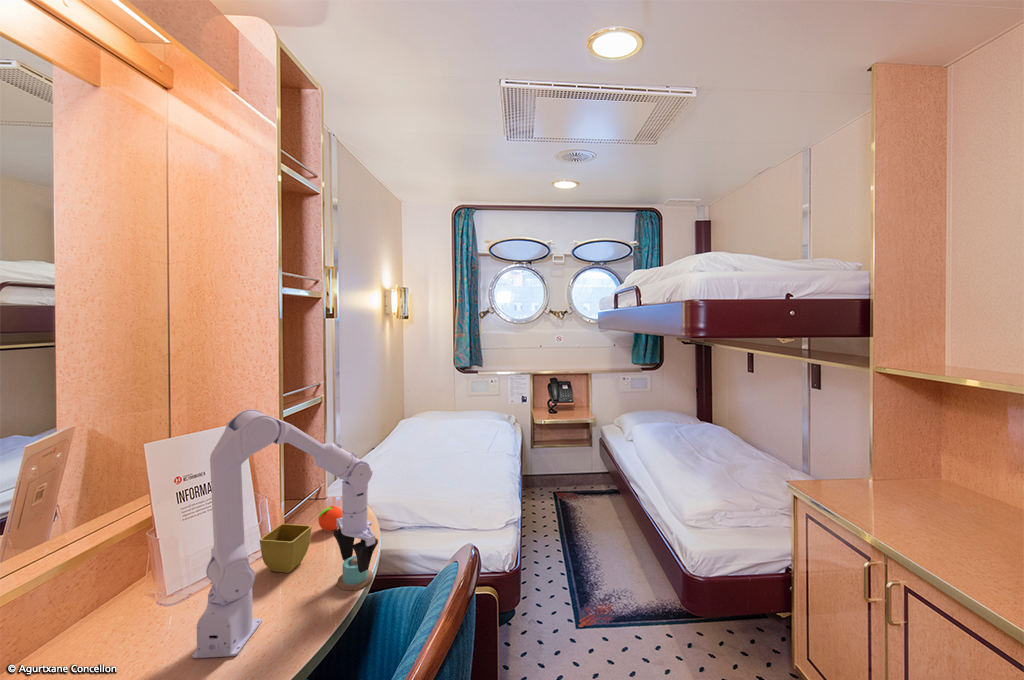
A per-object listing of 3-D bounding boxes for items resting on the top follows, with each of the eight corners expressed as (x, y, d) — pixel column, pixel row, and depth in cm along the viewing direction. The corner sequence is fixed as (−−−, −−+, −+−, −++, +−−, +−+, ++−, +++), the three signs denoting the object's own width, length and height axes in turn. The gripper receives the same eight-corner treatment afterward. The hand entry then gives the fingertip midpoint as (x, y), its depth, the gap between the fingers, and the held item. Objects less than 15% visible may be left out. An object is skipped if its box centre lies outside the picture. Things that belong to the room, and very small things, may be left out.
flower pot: (313, 558, 110) (312, 525, 110) (292, 578, 102) (292, 541, 101) (281, 556, 111) (281, 523, 111) (258, 576, 103) (258, 539, 102)
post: (368, 590, 97) (367, 568, 97) (332, 591, 97) (332, 570, 97) (376, 570, 105) (376, 550, 105) (343, 571, 105) (343, 551, 104)
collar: (364, 584, 98) (363, 567, 98) (340, 585, 98) (340, 568, 98) (369, 570, 104) (369, 555, 104) (347, 571, 103) (347, 555, 103)
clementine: (325, 539, 120) (325, 514, 120) (310, 533, 124) (310, 509, 124) (348, 527, 127) (348, 504, 127) (333, 522, 131) (333, 499, 131)
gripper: (386, 512, 99) (386, 568, 99) (355, 495, 108) (355, 547, 109) (359, 522, 93) (359, 582, 94) (328, 504, 103) (328, 558, 103)
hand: (355, 564), depth 101 cm, fingers open, 7 cm apart
